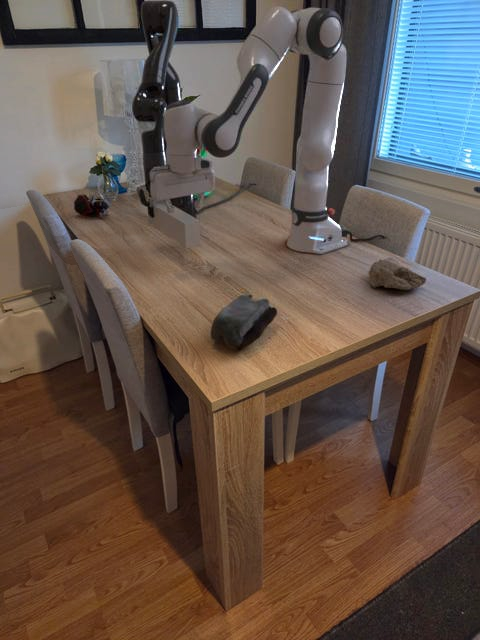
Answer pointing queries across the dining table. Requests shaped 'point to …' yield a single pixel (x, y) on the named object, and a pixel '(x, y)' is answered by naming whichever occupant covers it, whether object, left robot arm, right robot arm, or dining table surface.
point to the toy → (90, 206)
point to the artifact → (393, 275)
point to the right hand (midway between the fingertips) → (184, 209)
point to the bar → (176, 224)
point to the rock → (242, 322)
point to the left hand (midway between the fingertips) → (160, 215)
